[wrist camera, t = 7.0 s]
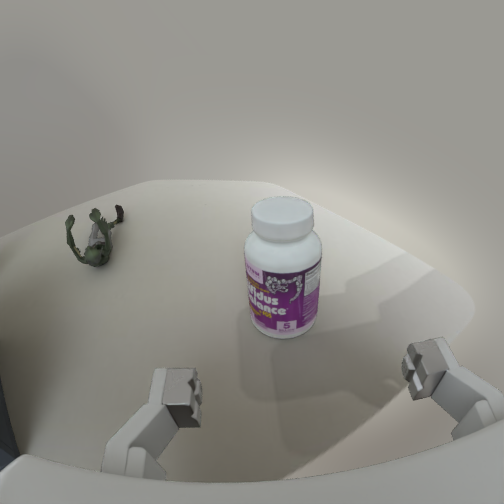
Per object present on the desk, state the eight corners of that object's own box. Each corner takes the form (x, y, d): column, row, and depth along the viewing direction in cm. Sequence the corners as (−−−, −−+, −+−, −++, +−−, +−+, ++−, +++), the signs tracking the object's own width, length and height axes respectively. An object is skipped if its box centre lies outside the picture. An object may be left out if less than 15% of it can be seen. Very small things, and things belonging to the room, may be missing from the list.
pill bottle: (238, 329, 25) (223, 219, 20) (268, 289, 29) (261, 187, 24) (303, 350, 23) (307, 234, 17) (326, 304, 27) (333, 198, 21)
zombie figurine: (115, 174, 41) (99, 223, 28) (125, 218, 44) (117, 280, 32) (80, 183, 39) (51, 234, 27) (91, 225, 43) (72, 289, 31)
